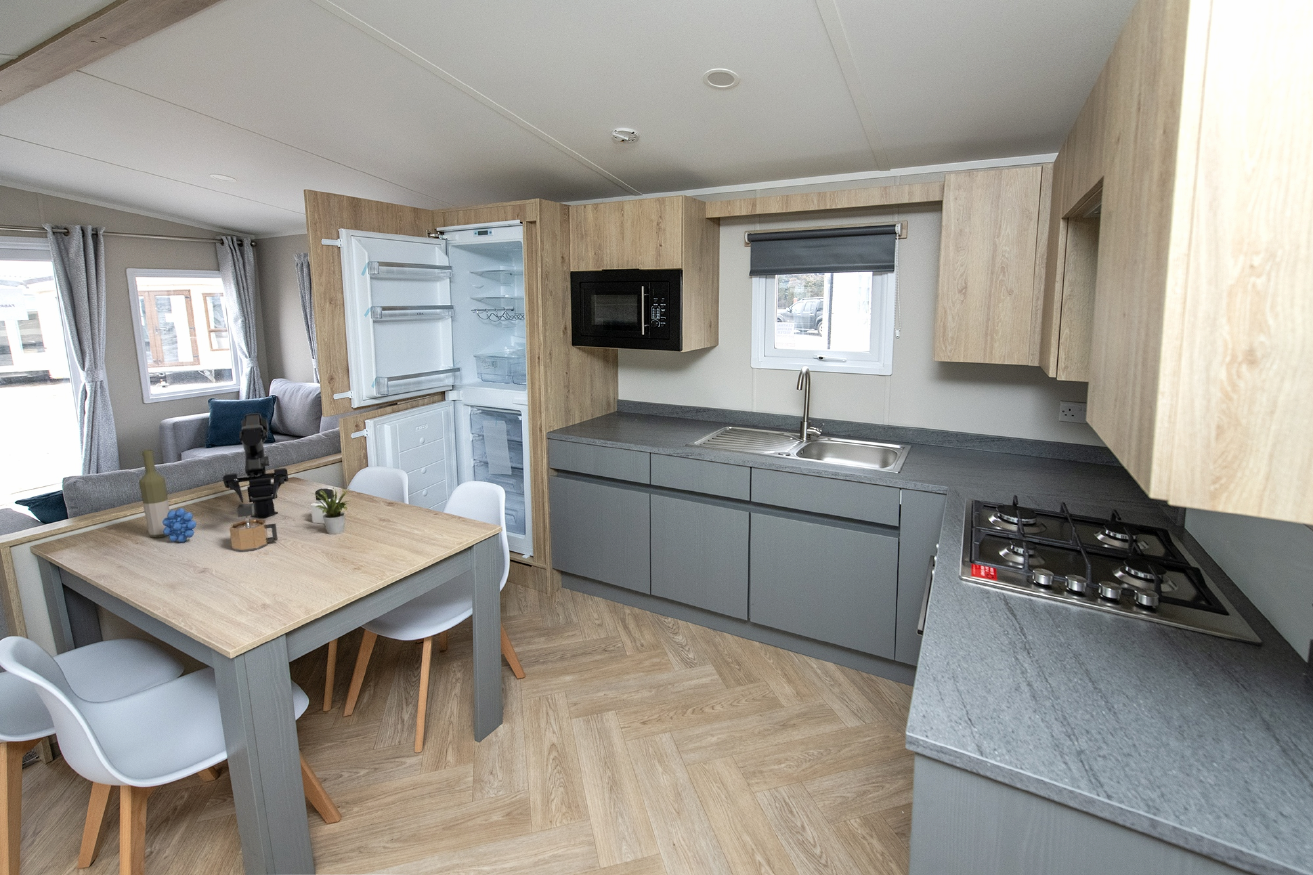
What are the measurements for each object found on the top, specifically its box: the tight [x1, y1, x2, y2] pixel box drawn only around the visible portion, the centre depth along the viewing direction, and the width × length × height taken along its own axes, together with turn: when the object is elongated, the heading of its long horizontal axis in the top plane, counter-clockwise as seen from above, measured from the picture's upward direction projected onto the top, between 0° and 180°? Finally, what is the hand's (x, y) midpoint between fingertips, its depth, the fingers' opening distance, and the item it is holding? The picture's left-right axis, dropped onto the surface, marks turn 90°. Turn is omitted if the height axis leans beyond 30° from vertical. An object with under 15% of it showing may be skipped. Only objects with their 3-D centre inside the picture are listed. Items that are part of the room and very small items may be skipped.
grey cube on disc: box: [236, 502, 261, 529], centre depth 211 cm, size 7×7×8 cm
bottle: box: [138, 449, 170, 538], centre depth 219 cm, size 7×7×30 cm
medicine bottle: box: [310, 487, 339, 525], centre depth 237 cm, size 7×7×12 cm
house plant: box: [311, 486, 352, 535], centre depth 224 cm, size 14×14×16 cm
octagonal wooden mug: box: [229, 518, 279, 553], centre depth 213 cm, size 10×13×8 cm
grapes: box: [162, 507, 197, 544], centre depth 216 cm, size 12×7×12 cm, turn 85°
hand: (258, 500), depth 219 cm, fingers open, 9 cm apart
